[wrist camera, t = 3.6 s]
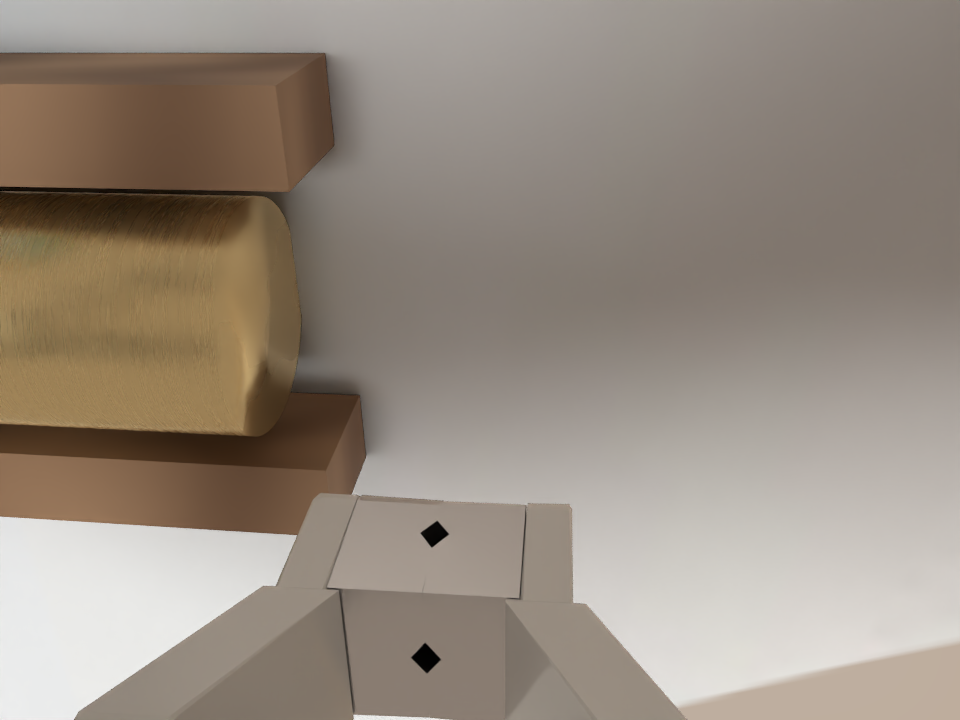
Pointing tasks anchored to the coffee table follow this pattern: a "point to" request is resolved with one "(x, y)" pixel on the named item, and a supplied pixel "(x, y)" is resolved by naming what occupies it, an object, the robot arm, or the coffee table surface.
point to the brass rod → (146, 312)
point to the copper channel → (173, 166)
